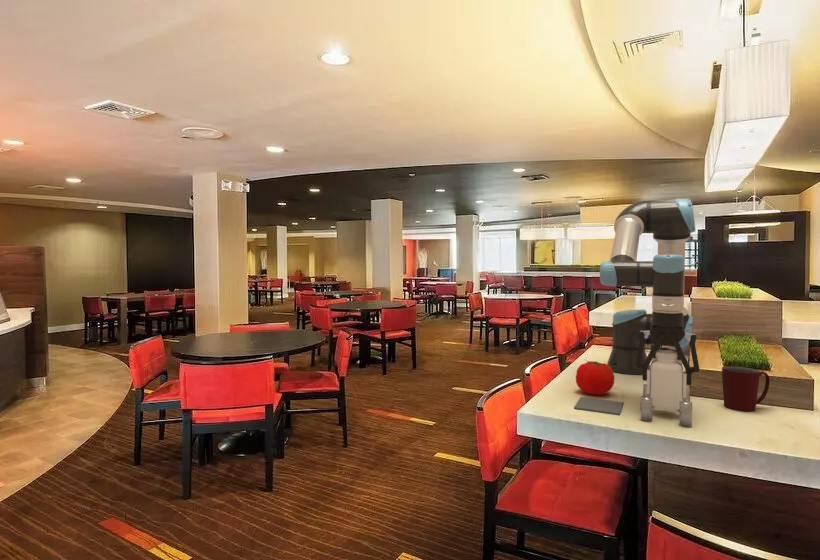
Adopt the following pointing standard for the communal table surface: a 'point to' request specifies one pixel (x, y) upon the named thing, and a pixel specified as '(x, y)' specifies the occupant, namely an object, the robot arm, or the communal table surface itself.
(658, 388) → the pill bottle
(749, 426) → the communal table surface
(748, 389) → the mug
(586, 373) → the tomato
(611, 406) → the mat
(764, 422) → the communal table surface
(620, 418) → the communal table surface
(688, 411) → the spacers
